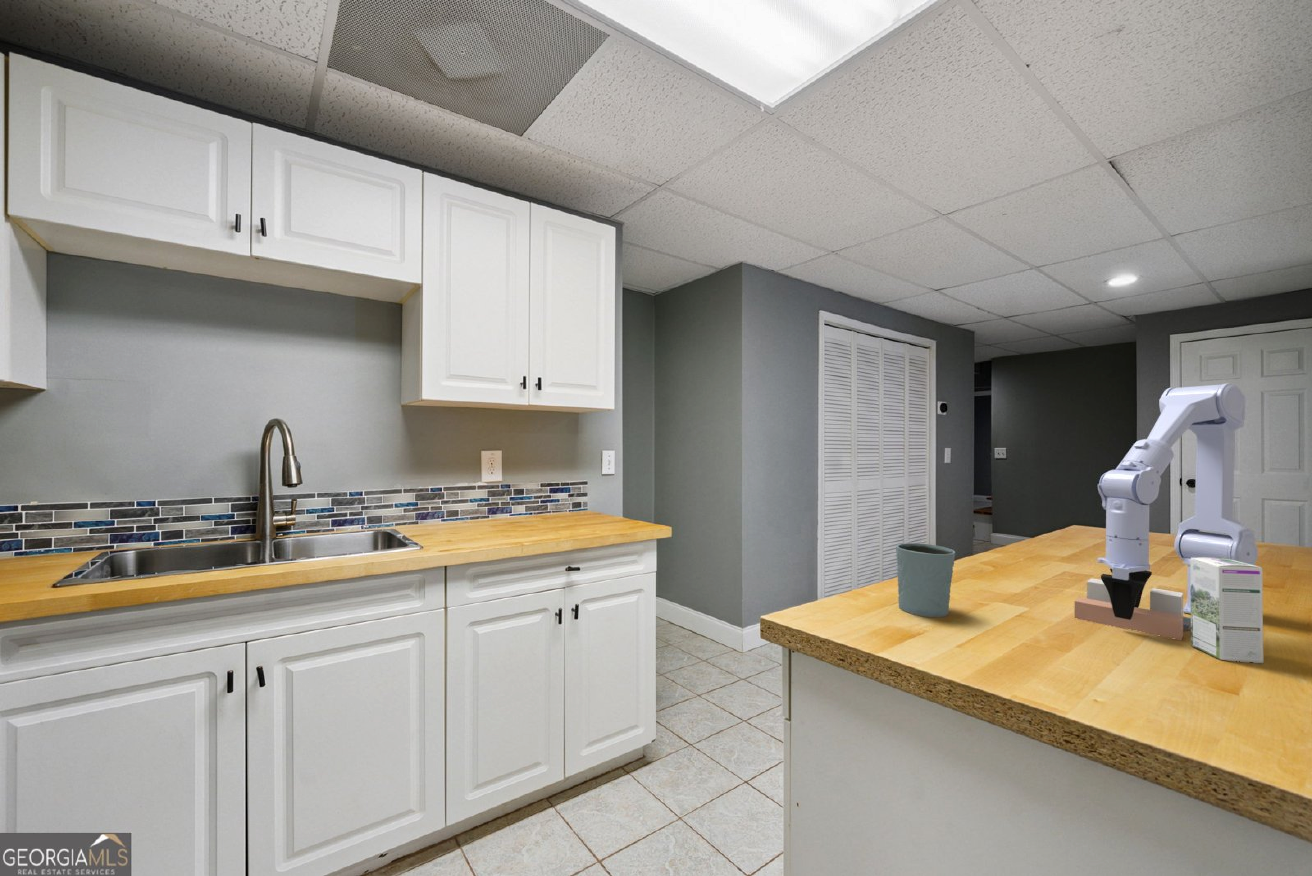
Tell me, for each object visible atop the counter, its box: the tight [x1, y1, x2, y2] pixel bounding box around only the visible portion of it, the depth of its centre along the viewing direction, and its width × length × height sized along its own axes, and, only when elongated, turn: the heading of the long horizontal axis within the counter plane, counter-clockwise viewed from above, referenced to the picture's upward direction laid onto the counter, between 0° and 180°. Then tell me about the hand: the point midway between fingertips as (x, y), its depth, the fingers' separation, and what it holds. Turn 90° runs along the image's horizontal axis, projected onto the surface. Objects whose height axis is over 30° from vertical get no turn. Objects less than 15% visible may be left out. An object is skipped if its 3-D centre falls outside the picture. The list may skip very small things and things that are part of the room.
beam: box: [1074, 596, 1184, 641], centre depth 93 cm, size 4×14×4 cm, turn 41°
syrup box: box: [1190, 557, 1264, 664], centre depth 81 cm, size 6×6×14 cm
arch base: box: [1086, 577, 1191, 632], centre depth 98 cm, size 6×15×6 cm, turn 41°
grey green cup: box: [895, 542, 956, 618], centre depth 101 cm, size 10×10×12 cm
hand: (1126, 613), depth 93 cm, fingers open, 7 cm apart
